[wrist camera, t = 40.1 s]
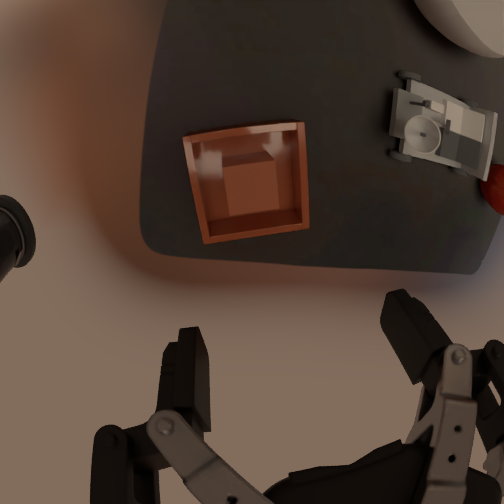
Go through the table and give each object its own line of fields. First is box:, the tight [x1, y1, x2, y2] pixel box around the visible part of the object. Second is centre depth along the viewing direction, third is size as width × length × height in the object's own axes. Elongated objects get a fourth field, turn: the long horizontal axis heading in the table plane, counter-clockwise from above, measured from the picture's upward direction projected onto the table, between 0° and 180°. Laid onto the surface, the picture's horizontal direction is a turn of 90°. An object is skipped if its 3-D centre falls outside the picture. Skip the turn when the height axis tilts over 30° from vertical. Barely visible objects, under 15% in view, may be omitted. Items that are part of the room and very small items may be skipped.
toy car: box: [389, 70, 498, 181], centre depth 24 cm, size 18×10×12 cm
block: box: [222, 151, 280, 216], centre depth 28 cm, size 5×5×5 cm
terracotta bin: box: [182, 119, 309, 244], centre depth 29 cm, size 12×12×5 cm
